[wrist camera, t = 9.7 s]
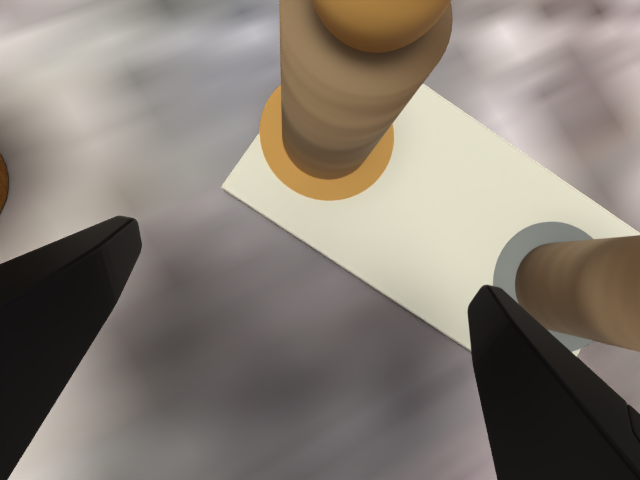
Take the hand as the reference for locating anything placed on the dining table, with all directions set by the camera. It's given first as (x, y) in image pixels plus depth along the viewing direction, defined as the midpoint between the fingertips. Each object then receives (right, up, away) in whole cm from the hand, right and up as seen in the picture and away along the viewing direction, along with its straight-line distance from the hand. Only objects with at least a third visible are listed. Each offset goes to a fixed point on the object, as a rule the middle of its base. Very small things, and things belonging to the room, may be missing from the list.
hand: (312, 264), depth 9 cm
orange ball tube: (+1, +6, +9) cm, 11 cm away
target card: (+7, +2, +11) cm, 13 cm away
